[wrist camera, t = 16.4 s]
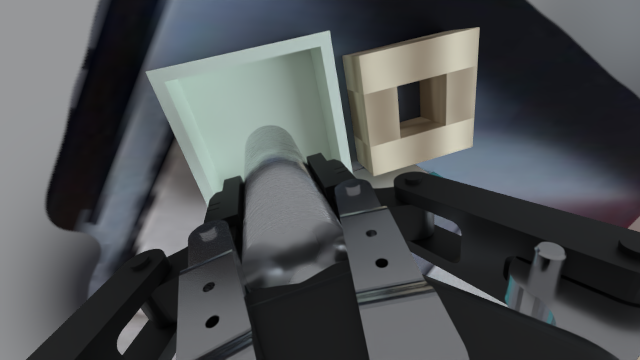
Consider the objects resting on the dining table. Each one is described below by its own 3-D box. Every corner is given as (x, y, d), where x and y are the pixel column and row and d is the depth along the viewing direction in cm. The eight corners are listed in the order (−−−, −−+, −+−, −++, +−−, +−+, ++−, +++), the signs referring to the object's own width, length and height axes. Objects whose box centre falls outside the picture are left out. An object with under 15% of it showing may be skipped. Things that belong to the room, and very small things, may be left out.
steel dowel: (252, 178, 18) (258, 321, 8) (238, 131, 17) (226, 238, 7) (299, 166, 18) (358, 290, 9) (290, 120, 17) (347, 205, 7)
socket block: (357, 161, 28) (373, 176, 24) (342, 55, 23) (358, 56, 20) (445, 135, 29) (472, 146, 26) (446, 31, 25) (479, 27, 21)
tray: (221, 200, 26) (216, 226, 22) (164, 68, 21) (145, 71, 17) (339, 166, 28) (354, 184, 24) (315, 35, 22) (329, 30, 18)
